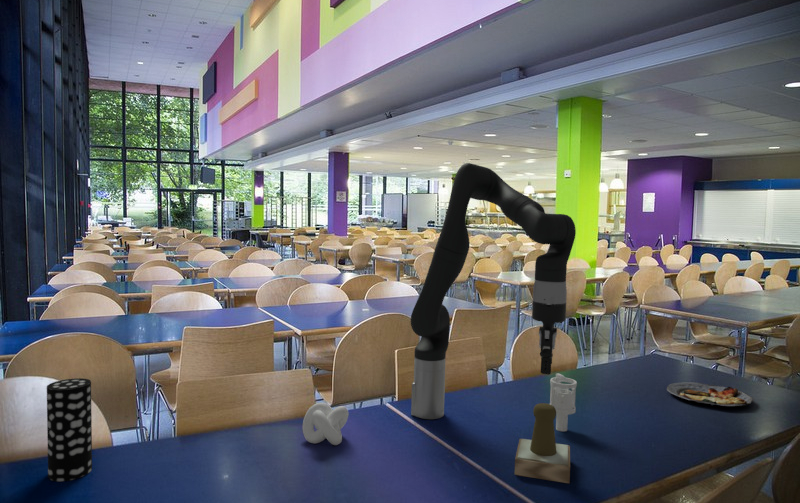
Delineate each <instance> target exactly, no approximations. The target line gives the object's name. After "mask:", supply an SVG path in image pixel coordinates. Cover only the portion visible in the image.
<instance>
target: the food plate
mask: <svg viewBox="0 0 800 503" xmlns="http://www.w3.org/2000/svg"><path fill="white" fill-rule="evenodd" d="M666 391H667V392H669V393H670V394H672V395H674V396H676V397H679V399H685V400H686V401H687V400H688V401H689V402H690V401H691V402H692V401H693V402H696V403H698V404H708V405H709V404H710V406H713V405H716V406H722V407H731V408H733V407H734V408H735V407H746V406H749V405H751V404H752V403H753V401H754V398H753V397H752V396H750V395H749V394H747V393H745V392H743V391H740V390H739V389H737V387H736V388H733V387H732V386H727V387H725V386H721V385H716V384H710V383H702V382H701V383H700V382H696V381H695V382H690V381H687V382H674V383H670V384H668V385H667V387H666Z"/></svg>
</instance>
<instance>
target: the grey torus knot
mask: <svg viewBox="0 0 800 503" xmlns="http://www.w3.org/2000/svg"><path fill="white" fill-rule="evenodd" d="M349 413H350V412H349V410H348V408H347V407H346V406H341V405H340V406H337V407H335V408H334V409H333V408H332V407H331V406H330V405H329V404H328V403H327V402H326V403H325V402H317V403H314V404H313V405H311V406H310V407H309V408H308V409H307V411H306V413H305V415H304V417H303V421H302V433H303V436H304V438H305V440H306V442H308V443H311V444H315V445H316V444H319V443H321V442H323V441H324V440H325V439H327V441H328V442H329V443H330V444H331V445H333V446H339V445H340V444H341V443H342V441H343V435H342V431H341V430H342V428H343V427H344V426H345V425H346V423H347V421H348V419H349V415H350V414H349Z"/></svg>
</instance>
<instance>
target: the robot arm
mask: <svg viewBox="0 0 800 503" xmlns="http://www.w3.org/2000/svg"><path fill="white" fill-rule="evenodd" d="M454 176H455V177H454V180H453V183H452V187H451V193H450V198H449V200H448V206H447V210H446V213H445V217H444V221H443V224H442V228H441V230H440V234H439V236H438V239H437V242H436V244H435V248H434V250H433V254H432V257H431V258H432V259H431V262H430V265H429V267H428V270H427V274H426V276H425V280H424V284H423V286H422V289H421V291H420V293H419V296H418V298H417V300H416V302H415V304H414V307H413V309H412V312H411V316H410V327H411V329H412V331H413V332H414V334H416V335H417V336H419V337H421V338H420V340H419V342H418V344H417V345H416V346H415V348H414V356H413V357H414V362H413V366H414V367H413V369H414V370H413V382H412V383H411V397H410V398H411V402H410V403H411V408H410V414H411V416H414V417H416V418H418V419H419V418H420V419H424V420H437V419H438V420H439V419H441V418H443V417H444V415H445V395H446V393H445V390H446V354H447V351H448V348H449V344H450V343H449V342H450V330H451V329H450V328H451V318H450V313H449V310H448V309H447V307H446V306H445V305H444V304H443V302H444V299H445V296H446V295H447V293H448V291H449V290H450V288H451V287H452V286H453V284H454V283H455V281H456V280H457V278H458V277H459V276H460V274H461V272H462V270H463V267H464V265H465V264H466V259H467V256H468V253H469V251H470V236H469V230H468V226H467V210H468V207H469V203H470V200H476V201H485V202H489V203H491V204H494V205H495V206H498V207H499V209H500V211H501V212H502V214H503V215H504V216H505V217H506V218H508V219H509V220H510V221H512V222H513V223H515V224H517V226H519V227H520V228H521V229H522V230H523V231H524V232H525V234H526V235H527V236H528V237H529V239H530V240H532V241H533V242H535V243H537V244H540V245H549V246H548V250H547V251H546V253H544V254H540V255H538V256H537V257H536V259H535V264H534V283H533V290H532V310H531V318H532V320H534V321H536V322H541V323H542V326H539V328H538V337H539V339H538V340H539V342H538V343H539V344H538V347H539V348H540V352H539V356H540V358H541V359H540V374H542V375H551V372H552V364H553V356H554V354H553V351H554V350H555V348H556V340H557V338H558V337H557V334H558V328H557V327H555V324H556V323H559V324H560V323H564V322H565V321H566V317H567V316H566V315H567V297H568V296H567V294H568V293H567V292H568V290H567V272H568V271H567V268H568V267H567V265H568V261H569V258H570V256H571V252H572V248H573V246H574V244H575V241H576V240H575V239H576V234H577V233H576V225H575V221H574V220H573V219H572V217H571V216H569V215H567V214H564V213H546V211H545V208H544V207H543V206H542V205H541V204H540V203H539V202H537V201H536V200H534V199H532V198H531V197H529V196H527V195H525V194H523V193H522V192H520V191H519V190H516V189H514V187H511V186H510V184H508V183H507V182H506V181H505V180H503V178H502V177H500V176H499V175H498V173H496V172H495V171H494V170H492V169H491V168H489V167H485V166H482V165H480V164H479V165H478V164H475V163H469V162H466V163H463V164H462V165H461V166H460V167H459V168H458V170H457V171H456V174H455V175H454Z"/></svg>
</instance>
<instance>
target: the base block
mask: <svg viewBox="0 0 800 503" xmlns="http://www.w3.org/2000/svg"><path fill="white" fill-rule="evenodd" d="M531 441H532V439H527V438H519V440H518V444H517V449H516V452H515V457H514V458H515V459H514V475H515V476H520V477H527V478H533V479H539V480H545V481H552V482H558V483H565V484H570V480H571V479H570V478H571V446H570V445H568V444H562V443H556V454H555V455H553V456H541V455H537V454H535V453H533V452H532V451H531V450H530V447H531Z"/></svg>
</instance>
